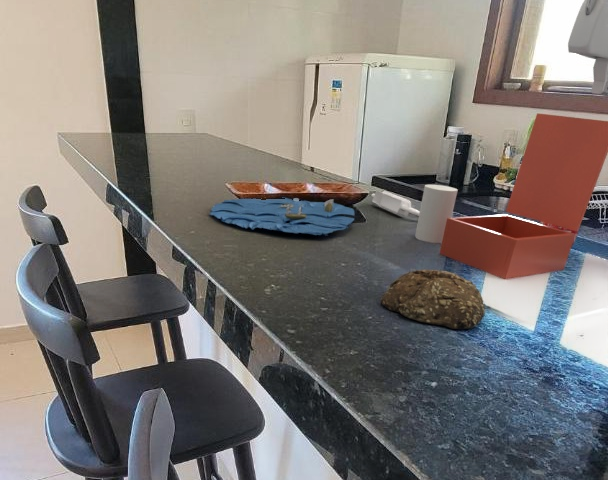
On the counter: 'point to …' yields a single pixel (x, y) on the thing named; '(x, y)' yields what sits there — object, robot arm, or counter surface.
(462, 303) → the bread roll
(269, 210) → the sea diorama
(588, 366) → the counter surface
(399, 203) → the white stepped rod
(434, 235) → the white cylinder
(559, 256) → the open terracotta box
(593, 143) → the lid
